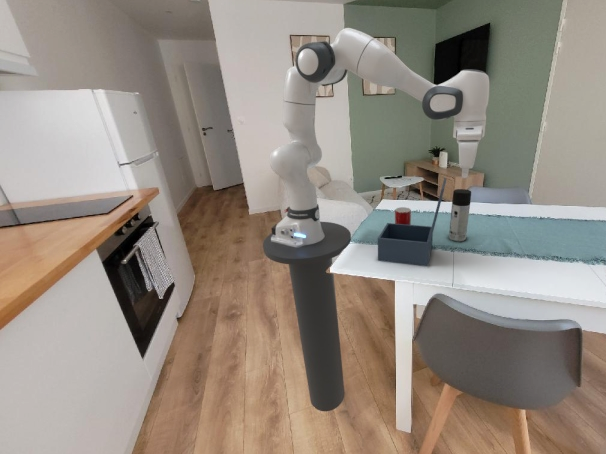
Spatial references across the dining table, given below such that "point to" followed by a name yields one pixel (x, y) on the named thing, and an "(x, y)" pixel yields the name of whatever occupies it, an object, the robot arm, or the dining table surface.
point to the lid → (437, 209)
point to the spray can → (459, 214)
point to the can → (403, 216)
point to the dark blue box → (405, 244)
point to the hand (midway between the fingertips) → (464, 177)
